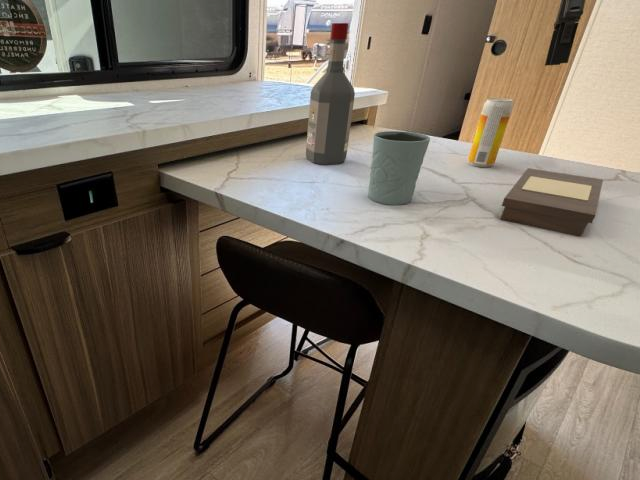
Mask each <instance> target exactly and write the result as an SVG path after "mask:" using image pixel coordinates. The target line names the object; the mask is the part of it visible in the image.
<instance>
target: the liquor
mask: <svg viewBox="0 0 640 480" xmlns="http://www.w3.org/2000/svg"><path fill="white" fill-rule="evenodd" d="M348 31H349V23H348V22H332V23H331V28H330V36H329V39H330V44H329V52H328V53H329V54H328V63H327V67H326V71H325V72H324V73H323V75H322V76H321V77H320V79H318V81H317V82H316V83H315V84H314V85H313V86H312V88H311V91H310V97H309V107H308V108H309V111H308V121H307V132H306V133H307V134H306V145H305V157H306V160H308V161H310V162H311V163H313V164H314V165H320V166H321V165H323V166H327V165H329V166H330V165H340V164H342V163H344V162H345V160H346V159H347V155H348V147H349V141H350V132H351V125H352V119H353V111H354V110H353V109H354V102H355V96H356V93H355V87H354V86H353V85H352V83H351V81H350V80H349V79H348V77H347V75H346V74H345V67H344V60H345V52H346V41H347V39H348Z"/></svg>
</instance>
